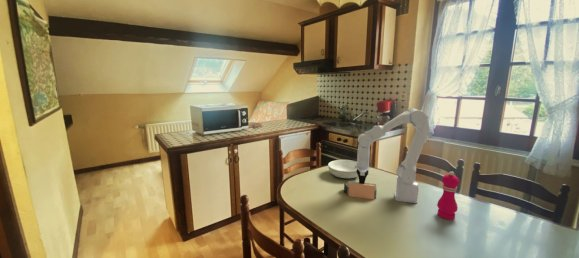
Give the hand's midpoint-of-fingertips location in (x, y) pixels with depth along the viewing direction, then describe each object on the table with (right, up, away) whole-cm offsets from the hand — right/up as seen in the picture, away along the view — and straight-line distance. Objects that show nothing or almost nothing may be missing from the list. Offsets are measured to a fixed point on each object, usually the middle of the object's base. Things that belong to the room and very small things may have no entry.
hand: (361, 184), depth 121 cm
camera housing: (0, -6, +2) cm, 6 cm away
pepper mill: (+31, -10, -18) cm, 37 cm away
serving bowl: (-2, -1, +27) cm, 27 cm away
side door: (-1, -6, -2) cm, 7 cm away
